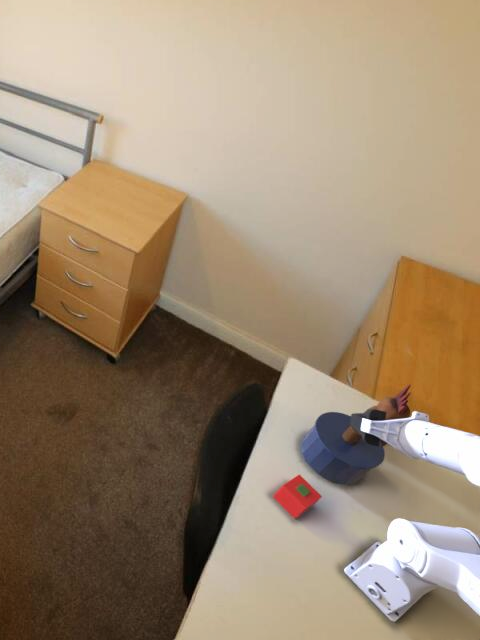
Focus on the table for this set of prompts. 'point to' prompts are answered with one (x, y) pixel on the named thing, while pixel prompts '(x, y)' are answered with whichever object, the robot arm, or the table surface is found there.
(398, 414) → the wooden figurine
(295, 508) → the block
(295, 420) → the table surface
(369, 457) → the pot lid
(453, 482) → the table surface
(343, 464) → the pot
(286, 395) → the table surface
